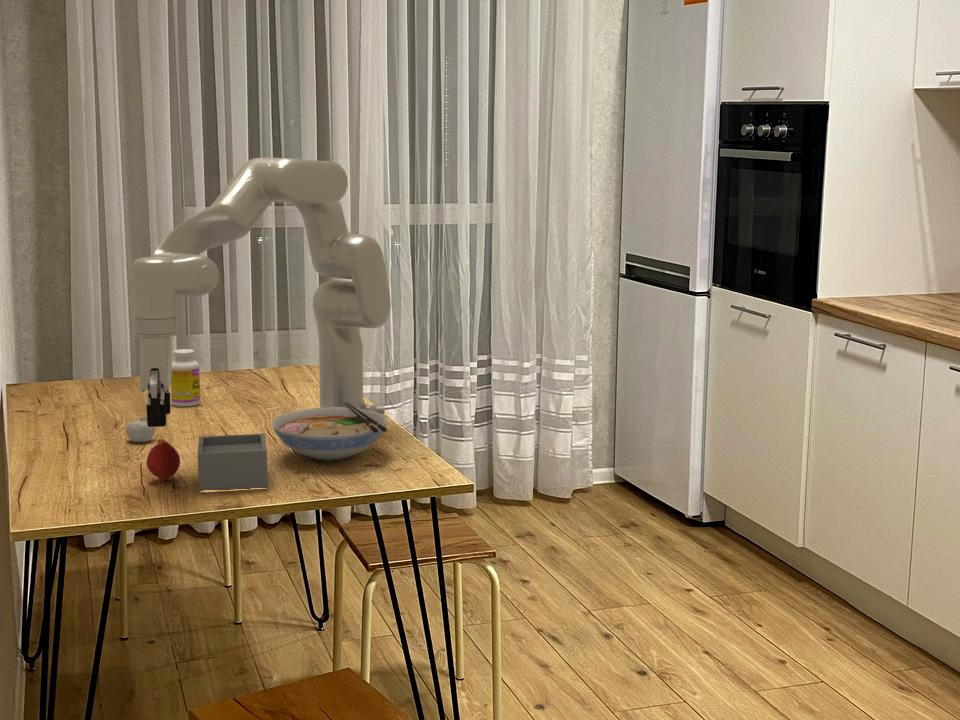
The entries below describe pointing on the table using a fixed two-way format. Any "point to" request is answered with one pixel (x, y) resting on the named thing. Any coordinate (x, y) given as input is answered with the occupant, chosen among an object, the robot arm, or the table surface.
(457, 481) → the table surface
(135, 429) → the garlic
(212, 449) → the grey hollow box
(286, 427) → the ramen bowl
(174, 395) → the supplement bottle
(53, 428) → the table surface
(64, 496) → the table surface
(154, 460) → the onion
